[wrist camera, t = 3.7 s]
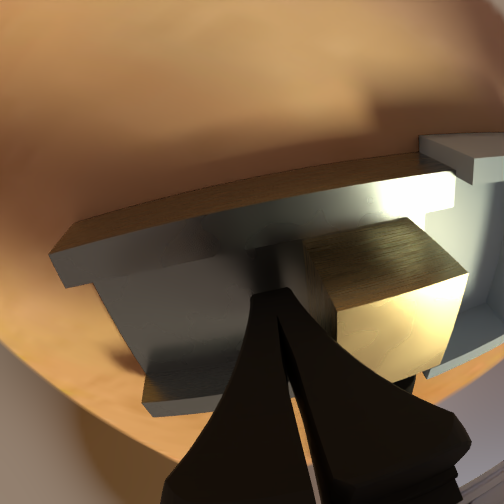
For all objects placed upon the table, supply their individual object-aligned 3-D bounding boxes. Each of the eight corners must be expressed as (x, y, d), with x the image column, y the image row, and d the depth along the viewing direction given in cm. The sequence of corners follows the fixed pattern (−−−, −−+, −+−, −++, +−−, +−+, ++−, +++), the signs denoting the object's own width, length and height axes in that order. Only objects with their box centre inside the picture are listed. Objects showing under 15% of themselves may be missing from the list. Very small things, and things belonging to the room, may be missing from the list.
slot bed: (419, 152, 9) (456, 170, 8) (403, 328, 14) (422, 358, 12) (73, 223, 9) (48, 254, 8) (157, 380, 14) (153, 417, 12)
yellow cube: (409, 218, 10) (469, 273, 7) (400, 304, 12) (440, 364, 9) (302, 240, 10) (337, 312, 7) (310, 328, 12) (335, 400, 9)
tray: (517, 132, 9) (565, 152, 7) (486, 303, 14) (514, 336, 11) (418, 135, 9) (474, 158, 7) (401, 336, 14) (426, 379, 11)
